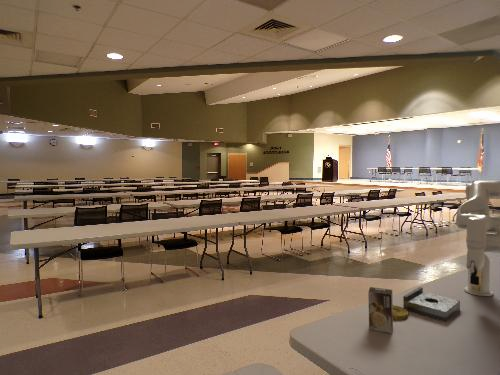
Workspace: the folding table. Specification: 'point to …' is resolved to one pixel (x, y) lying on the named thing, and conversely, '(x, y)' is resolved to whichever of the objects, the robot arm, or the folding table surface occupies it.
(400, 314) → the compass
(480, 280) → the brass cylinder
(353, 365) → the folding table surface
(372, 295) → the coffee box
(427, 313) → the jig
